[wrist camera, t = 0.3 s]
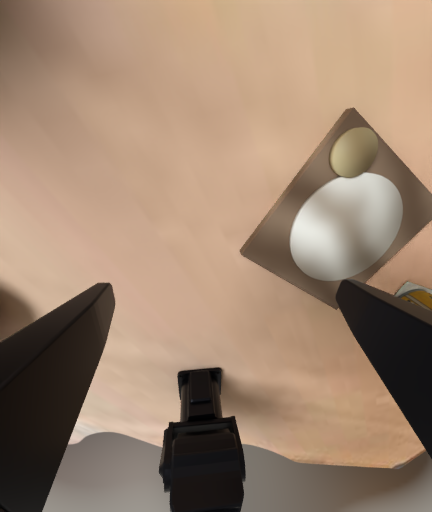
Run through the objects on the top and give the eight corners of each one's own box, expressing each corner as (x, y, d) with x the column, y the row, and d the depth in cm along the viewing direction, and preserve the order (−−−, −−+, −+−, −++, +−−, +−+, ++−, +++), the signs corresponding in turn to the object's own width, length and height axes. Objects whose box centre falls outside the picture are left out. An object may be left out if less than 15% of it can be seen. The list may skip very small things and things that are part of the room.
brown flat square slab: (332, 304, 29) (340, 313, 28) (239, 250, 24) (243, 258, 23) (434, 205, 24) (452, 209, 23) (346, 109, 19) (360, 105, 17)
